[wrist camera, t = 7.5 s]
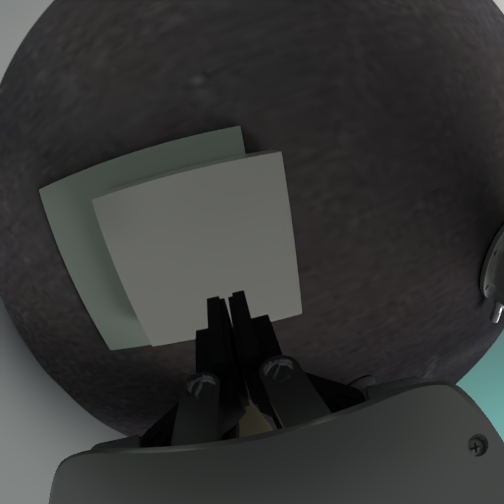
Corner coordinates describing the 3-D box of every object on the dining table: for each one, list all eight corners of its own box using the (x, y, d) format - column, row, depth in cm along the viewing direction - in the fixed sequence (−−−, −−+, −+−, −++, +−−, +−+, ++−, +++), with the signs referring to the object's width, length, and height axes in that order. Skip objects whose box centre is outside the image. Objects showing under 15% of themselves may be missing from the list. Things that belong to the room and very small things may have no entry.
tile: (302, 313, 21) (152, 346, 20) (292, 295, 23) (156, 325, 22) (281, 151, 16) (91, 199, 15) (271, 149, 18) (105, 190, 17)
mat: (273, 314, 24) (275, 318, 24) (111, 347, 23) (110, 350, 23) (239, 125, 18) (240, 125, 17) (41, 188, 16) (38, 189, 16)
